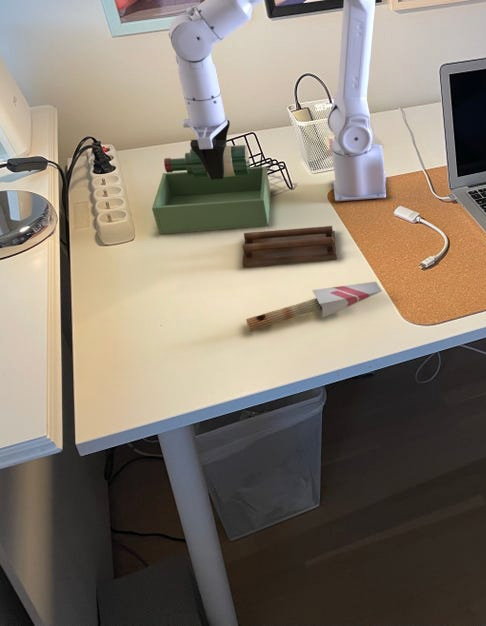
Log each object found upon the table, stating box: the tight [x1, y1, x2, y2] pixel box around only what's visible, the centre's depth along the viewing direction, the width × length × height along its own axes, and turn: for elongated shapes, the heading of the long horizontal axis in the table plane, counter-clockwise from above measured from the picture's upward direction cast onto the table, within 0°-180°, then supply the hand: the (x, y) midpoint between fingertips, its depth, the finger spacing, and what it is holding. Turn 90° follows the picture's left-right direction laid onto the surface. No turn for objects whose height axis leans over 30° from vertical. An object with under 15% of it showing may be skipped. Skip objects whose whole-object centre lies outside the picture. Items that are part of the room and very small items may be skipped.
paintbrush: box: [245, 281, 383, 332], centre depth 107 cm, size 4×3×20 cm
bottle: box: [163, 144, 251, 179], centre depth 125 cm, size 14×5×5 cm, turn 102°
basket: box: [151, 166, 271, 235], centre depth 129 cm, size 18×13×5 cm
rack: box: [242, 225, 338, 268], centre depth 120 cm, size 15×8×3 cm, turn 102°
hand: (218, 170), depth 126 cm, fingers closed on bottle, 5 cm apart
